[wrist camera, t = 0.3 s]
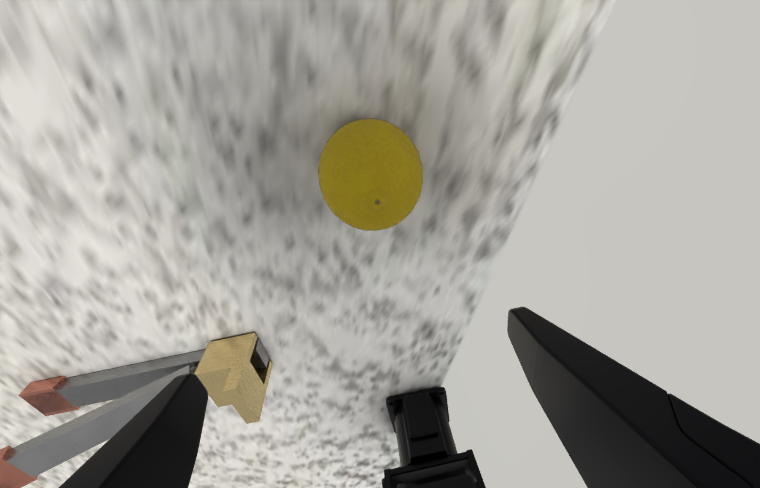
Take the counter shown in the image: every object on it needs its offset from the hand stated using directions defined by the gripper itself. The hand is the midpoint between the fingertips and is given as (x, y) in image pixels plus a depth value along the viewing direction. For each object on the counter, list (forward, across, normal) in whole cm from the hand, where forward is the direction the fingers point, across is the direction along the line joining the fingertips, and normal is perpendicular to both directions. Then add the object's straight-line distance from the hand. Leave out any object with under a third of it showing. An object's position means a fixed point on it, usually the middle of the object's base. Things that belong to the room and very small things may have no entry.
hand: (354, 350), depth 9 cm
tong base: (+14, +21, +14) cm, 29 cm away
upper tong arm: (+10, +23, +14) cm, 29 cm away
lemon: (+14, -2, -2) cm, 15 cm away
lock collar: (+14, +13, +14) cm, 24 cm away
